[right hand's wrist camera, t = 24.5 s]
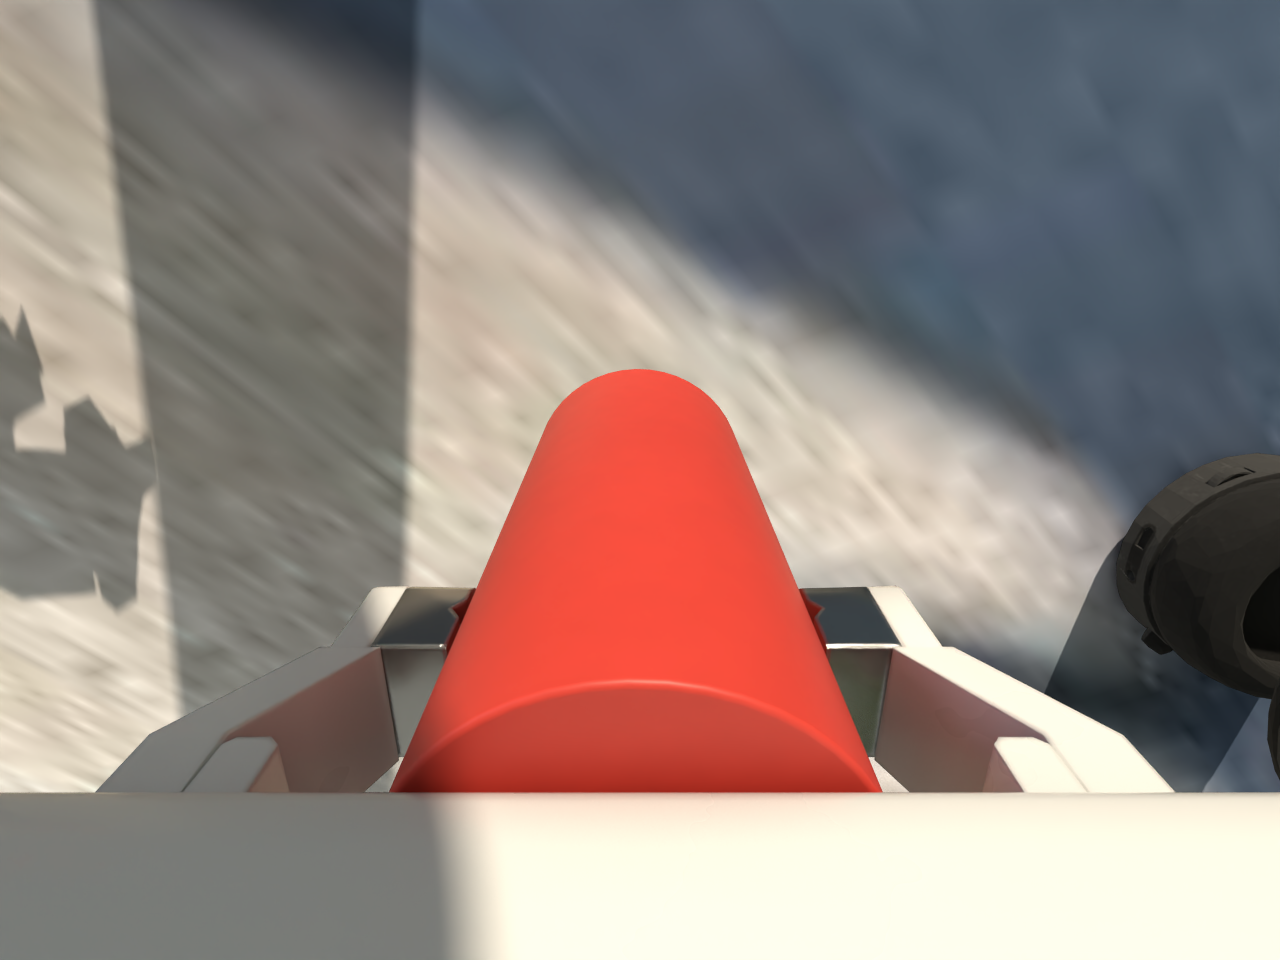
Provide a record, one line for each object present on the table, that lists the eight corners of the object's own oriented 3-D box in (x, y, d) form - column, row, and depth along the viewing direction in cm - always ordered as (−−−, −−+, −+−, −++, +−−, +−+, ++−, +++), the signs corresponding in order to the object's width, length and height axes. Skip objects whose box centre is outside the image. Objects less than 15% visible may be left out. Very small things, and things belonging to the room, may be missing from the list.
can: (546, 558, 17) (409, 1067, 7) (530, 370, 16) (316, 689, 5) (735, 553, 17) (875, 1060, 7) (741, 365, 16) (940, 677, 5)
